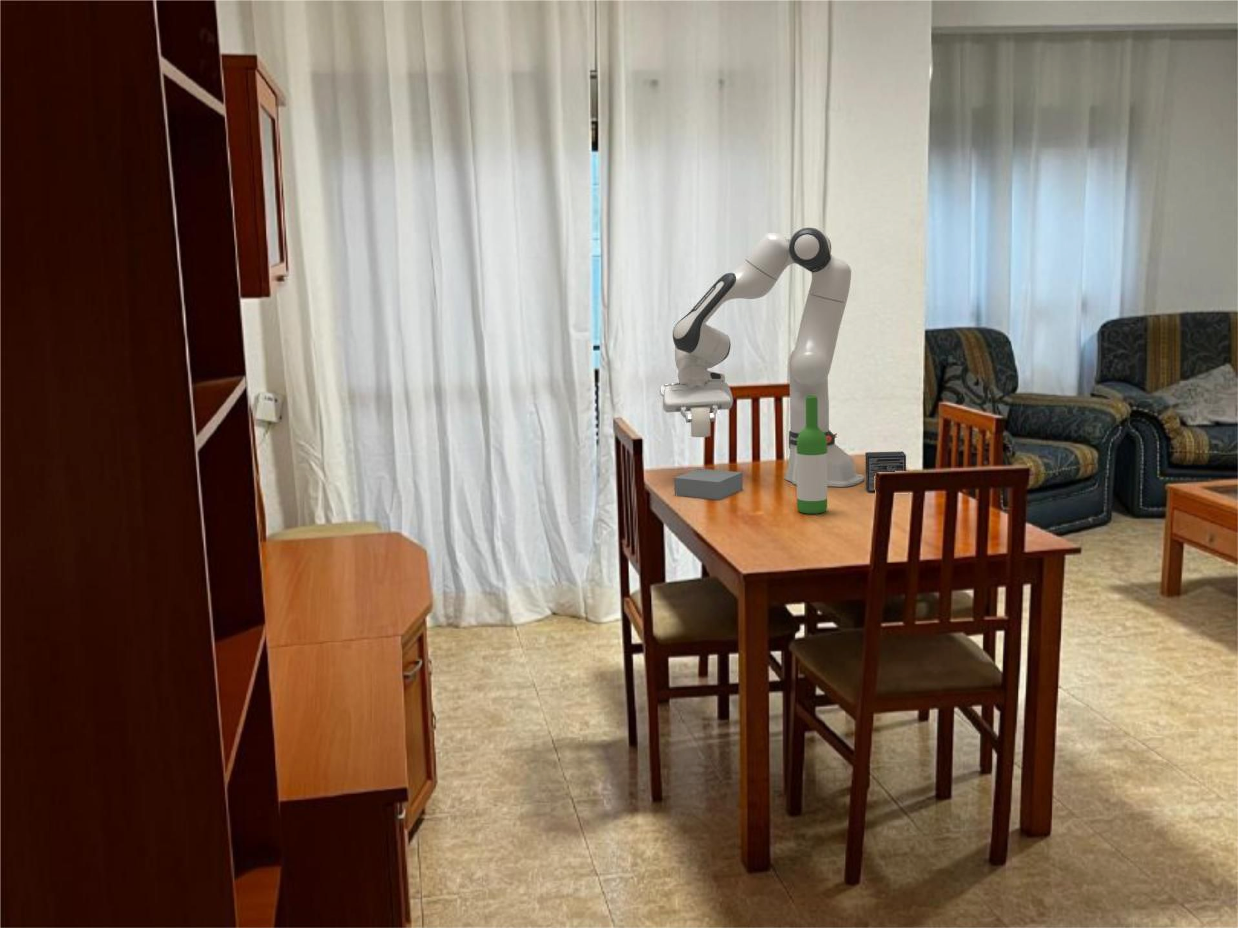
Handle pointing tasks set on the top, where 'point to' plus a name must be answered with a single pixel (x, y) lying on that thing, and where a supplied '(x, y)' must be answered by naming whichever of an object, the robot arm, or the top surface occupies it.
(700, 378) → the robot arm
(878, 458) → the small box
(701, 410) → the cylinder
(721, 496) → the plinth
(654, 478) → the top surface
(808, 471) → the wine bottle
